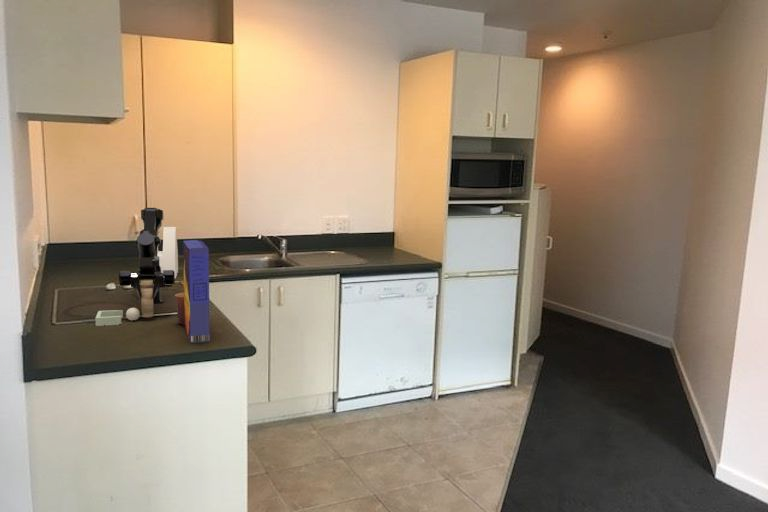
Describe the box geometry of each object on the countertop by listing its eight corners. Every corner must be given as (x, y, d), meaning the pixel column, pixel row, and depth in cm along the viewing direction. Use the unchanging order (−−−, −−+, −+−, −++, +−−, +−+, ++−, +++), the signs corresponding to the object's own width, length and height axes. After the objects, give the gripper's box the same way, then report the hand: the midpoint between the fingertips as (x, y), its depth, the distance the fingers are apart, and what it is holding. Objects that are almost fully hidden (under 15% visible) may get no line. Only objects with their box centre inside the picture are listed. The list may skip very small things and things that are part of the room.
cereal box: (184, 326, 210) (183, 240, 206) (202, 325, 212) (201, 239, 208) (189, 343, 190) (188, 247, 186) (209, 341, 192) (208, 247, 188)
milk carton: (146, 273, 316) (145, 225, 313) (178, 272, 320) (177, 225, 317) (142, 279, 298) (140, 228, 295) (175, 279, 302) (174, 228, 299)
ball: (124, 320, 217) (123, 307, 216) (137, 318, 220) (137, 305, 219) (128, 322, 213) (128, 309, 213) (141, 320, 216) (141, 308, 216)
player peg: (139, 315, 218) (138, 279, 216) (151, 314, 221) (150, 278, 219) (143, 317, 215) (142, 281, 213) (155, 316, 218) (154, 280, 216)
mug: (184, 327, 209) (183, 298, 207) (170, 323, 214) (169, 294, 213) (214, 321, 218) (214, 293, 216) (200, 317, 223) (199, 290, 222)
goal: (98, 318, 218) (98, 310, 217) (123, 317, 220) (122, 309, 220) (95, 326, 208) (95, 317, 207) (121, 324, 210) (120, 316, 210)
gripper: (118, 248, 215) (116, 285, 207) (174, 248, 221) (174, 283, 213) (120, 267, 224) (119, 303, 215) (174, 266, 230) (174, 301, 221)
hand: (146, 297), depth 216 cm, fingers closed on player peg, 4 cm apart
